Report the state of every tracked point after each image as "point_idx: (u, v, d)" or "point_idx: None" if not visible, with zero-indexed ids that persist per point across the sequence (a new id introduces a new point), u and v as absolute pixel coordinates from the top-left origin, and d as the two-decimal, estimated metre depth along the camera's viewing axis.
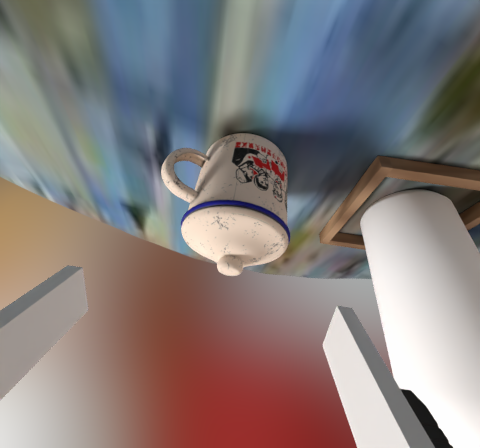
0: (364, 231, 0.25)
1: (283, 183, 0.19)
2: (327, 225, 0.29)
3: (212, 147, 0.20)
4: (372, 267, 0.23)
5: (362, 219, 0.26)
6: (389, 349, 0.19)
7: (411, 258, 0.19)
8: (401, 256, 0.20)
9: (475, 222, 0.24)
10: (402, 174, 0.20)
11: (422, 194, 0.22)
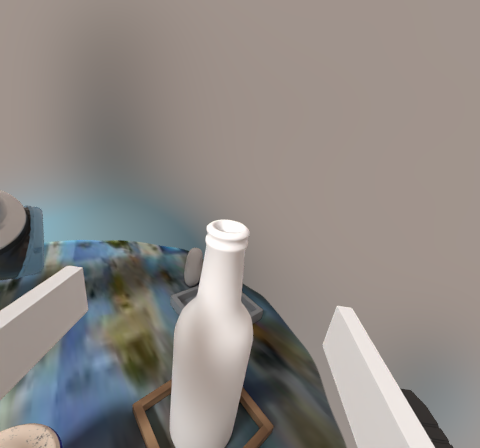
0: (179, 442, 0.27)
1: None
2: None
3: None
4: (181, 420, 0.25)
5: None
6: (187, 378, 0.22)
7: None
8: (171, 389, 0.28)
9: None
10: (149, 397, 0.32)
11: None
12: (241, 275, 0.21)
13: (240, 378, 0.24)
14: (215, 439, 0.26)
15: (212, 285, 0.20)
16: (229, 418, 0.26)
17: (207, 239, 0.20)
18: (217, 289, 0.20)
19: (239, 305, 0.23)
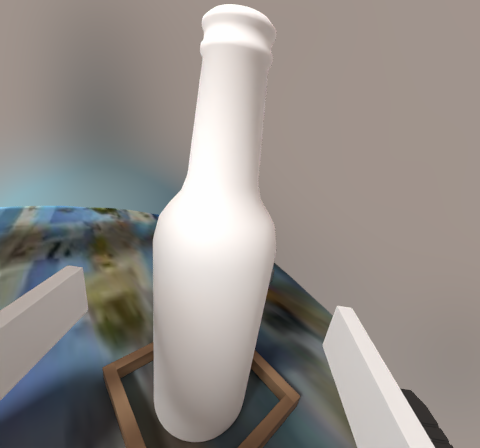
0: (165, 415, 0.18)
1: None
2: None
3: None
4: (166, 378, 0.16)
5: (163, 425, 0.19)
6: (173, 300, 0.14)
7: None
8: None
9: None
10: (127, 359, 0.23)
11: None
12: (261, 120, 0.13)
13: (258, 308, 0.15)
14: (220, 407, 0.17)
15: (212, 126, 0.12)
16: (240, 376, 0.17)
17: (202, 41, 0.12)
18: (221, 132, 0.12)
19: (256, 183, 0.14)
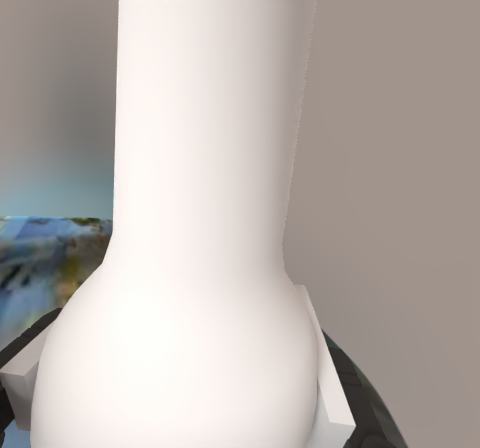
0: None
1: None
2: None
3: None
4: None
5: None
6: None
7: None
8: None
9: None
10: None
11: None
12: (300, 91, 0.05)
13: None
14: None
15: (152, 103, 0.04)
16: None
17: None
18: (179, 122, 0.04)
19: (280, 249, 0.06)
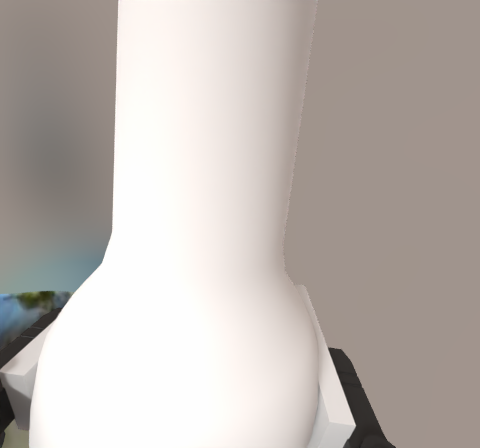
0: None
1: None
2: None
3: None
4: None
5: None
6: None
7: None
8: None
9: None
10: None
11: None
12: (301, 90, 0.04)
13: None
14: None
15: (152, 103, 0.04)
16: None
17: None
18: (179, 121, 0.04)
19: (281, 250, 0.06)
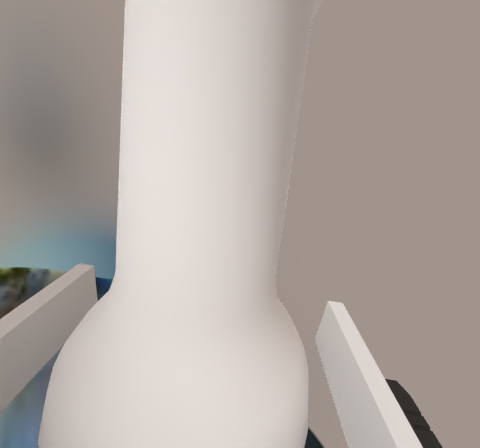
0: None
1: None
2: None
3: None
4: None
5: None
6: None
7: None
8: None
9: None
10: None
11: None
12: (291, 151, 0.05)
13: None
14: None
15: (153, 175, 0.04)
16: None
17: None
18: (178, 193, 0.04)
19: (273, 288, 0.06)
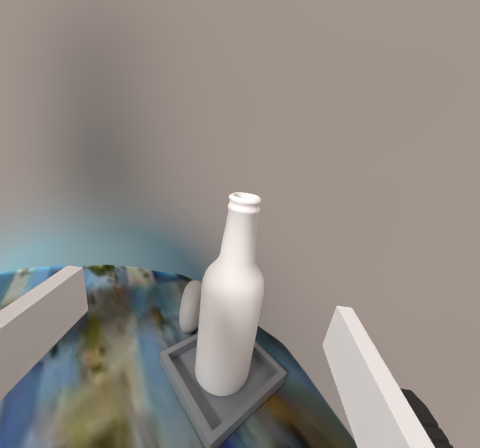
0: (204, 380, 0.32)
1: None
2: None
3: None
4: (207, 358, 0.31)
5: (203, 386, 0.33)
6: (214, 318, 0.28)
7: None
8: (197, 338, 0.34)
9: None
10: None
11: None
12: (255, 234, 0.28)
13: (255, 321, 0.30)
14: (235, 375, 0.32)
15: (233, 241, 0.27)
16: (245, 358, 0.32)
17: (229, 205, 0.26)
18: (237, 244, 0.27)
19: (253, 260, 0.29)
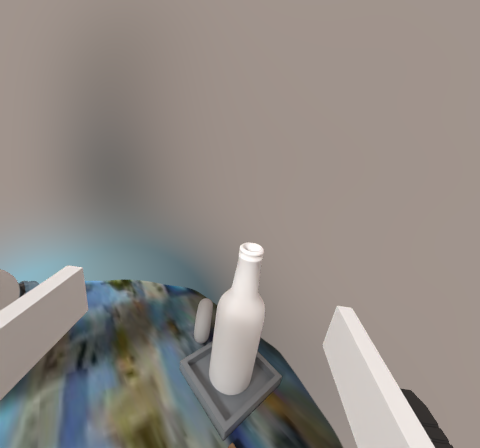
0: (217, 383, 0.42)
1: None
2: None
3: None
4: (220, 366, 0.40)
5: (216, 388, 0.42)
6: (227, 337, 0.37)
7: (212, 345, 0.43)
8: None
9: None
10: None
11: None
12: (259, 275, 0.36)
13: (257, 339, 0.39)
14: (241, 379, 0.41)
15: (243, 281, 0.36)
16: (250, 366, 0.41)
17: (240, 254, 0.35)
18: (245, 283, 0.36)
19: (257, 293, 0.38)
